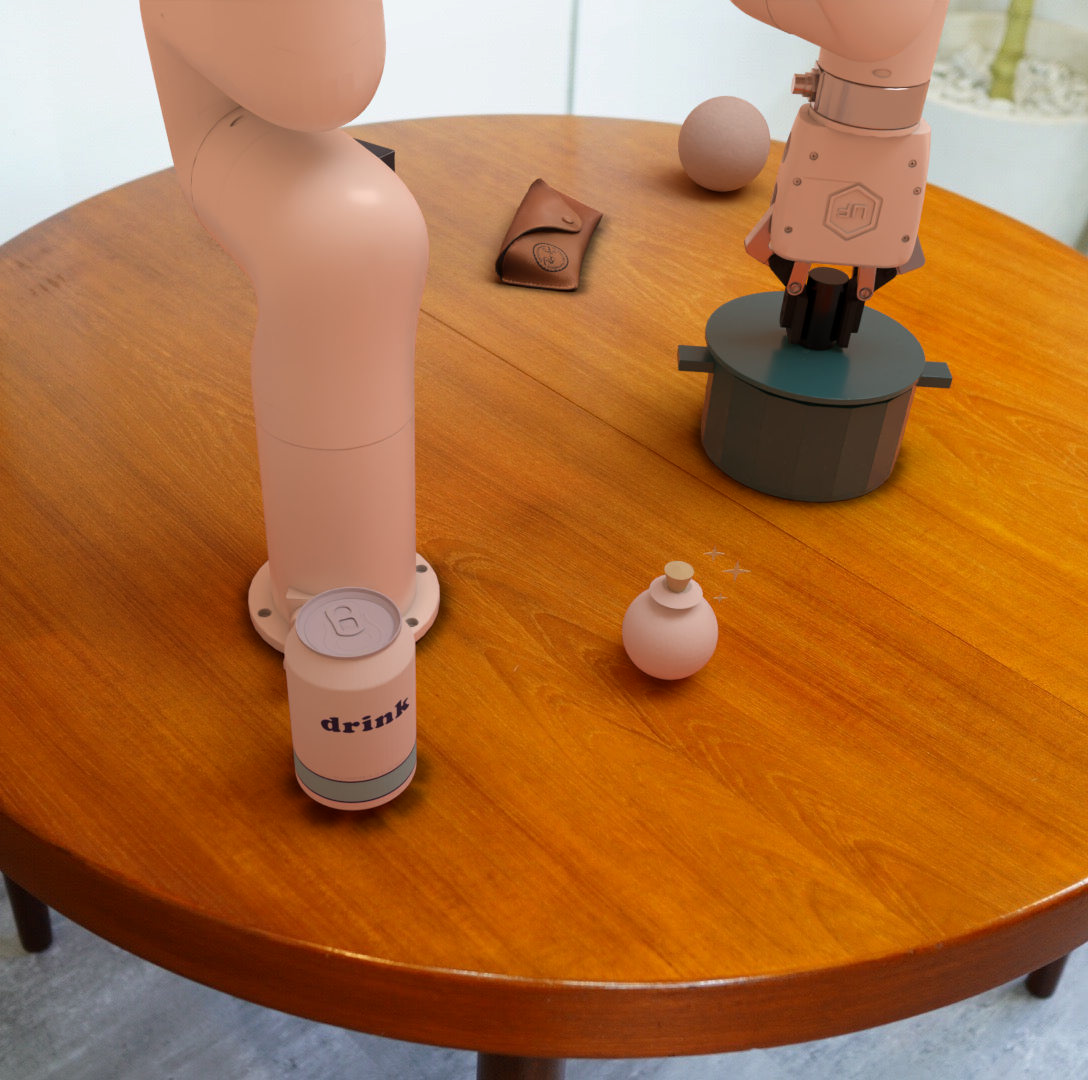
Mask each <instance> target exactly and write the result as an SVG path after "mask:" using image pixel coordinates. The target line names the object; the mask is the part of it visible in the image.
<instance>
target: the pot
mask: <svg viewBox="0 0 1088 1080" xmlns="http://www.w3.org/2000/svg"><path fill="white" fill-rule="evenodd" d="M676 361H677V371H679V372H689V373H691V372H692V373H704V374H705V373H706V374H707V379H706V384H705V385H706V387H705V391H704V399H703V406H702V413H701V418H700V419H701V420H700V428H701V430H700V440H701V445H702V447H703V449H704V452H705V453H706V455H707V457H708V458H709V460H710V461H711V462H712V463H713V464H714V465H715V466H716V467H717V468H718V469H719V470H720V471H721V472H723V473H724V474H725V475H727V476H728V477H730V478H731V479H732V480H735V481H736V482H738V483H740V484H742V485H743V486H746V487H748V488H750V489H752V490H755V491H757V492H760V493H763V494H766V495H769V496H773V497H777V498H781V499H787V500H792V501H798V502H808V503H811V502H813V503H828V502H829V503H830V502H840V501H847V500H851V499H855V498H859V497H862V496H864V495H867V494H869V493H871V492H873V491H875V490H876V489H878V488H880V487H881V486H882V485H884V484H885V482H886V481H887V480H888V479H889V478H890V476H891V475H892V473H893V471H894V468H895V465H896V462H897V460H898V458H899V454H900V450H901V447H902V443H903V440H904V436H905V431H906V427H907V424H908V422H909V421H908V420H909V416H910V413H911V410H912V406H913V401H914V398H915V394H916V391H917V388H933V389H946V390H947V389H951V386H952V383H953V379H954V378H953V375H952V372H951V371H950V368H949V365H948V363H947V362H945V361H929V360H925V367H924V370H923V374H922V376H921V378H920V379H919V381H918V382H917V383H916V384H915V385H914V386H913V387H912V388H911V389H909V390H908V391H906V392H905V393H903V394H900V395H898V396H896V397H894V398H890V399H887V400H884V401H879V402H874V403H867V404H858V405H832V404H820V403H812V402H806V401H801V400H796V399H792V398H788V397H784V396H780V395H777V394H774V393H771V392H768V391H765V390H763V389H760V388H758V387H755V386H753V385H751V384H749V383H747V382H745V381H743V380H741V379H740V378H738V377H737V376H735V375H733V374H732V373H730V372H729V371H728V370H726V369H725V368H724V367H723V366H722V365H721V364H720V363H719V362H718V361H716V359H715V358H714V357H713V355H712V354H711V353H710V351H709V349H708V347H707V346H702V345H688V344H678V345H677V352H676Z"/></svg>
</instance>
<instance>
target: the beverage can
mask: <svg viewBox="0 0 1088 1080" xmlns="http://www.w3.org/2000/svg"><path fill="white" fill-rule="evenodd" d="M284 653H285V654H284ZM284 653H283V654H284V658H285V665H286V670H285V674H286V685H287V695H288V706H289V707H288V708H289V717H290V728H291V738H292V740H291V741H292V747H293V751H292V752H293V760H294V772H295V776H296V780H297V782H298V785H299V786H300V788H301V789H302V790H303V792H304V793H305V794H306V795H308V797H310V798H311V799H313V801H315V802H317V803H319V804H322V805H323V806H327V807H328V808H332V809H336V810H342V811H363V810H368V809H373V808H377V807H379V806H382V805H384V804H386V803H389V802H390V801H392V800H394V799H395V798H396V797H398V796H400V795H401V794H402V793H403V792H404V791H405V790H406V789H407V788H408V786H409V785H410V783H411V782H412V780H413V778H414V776H415V773H416V770H417V679H416V676H417V674H416V669H417V668H416V667H417V666H416V665H417V664H416V662H417V661H416V642H415V639H414V635H413V633H412V630H411V628H410V627H409V625H408V624H407V623H406V621H405V620H404V619H403V618H402V616H401V612H400V610H399V608H398V606H397V605H396V604H395V603H394V602H393V601H392V600H391V599H390V598H389V597H387V596H386V595H384V594H382V593H380V592H377V591H374V590H371V589H367V588H360V587H343V588H336V589H332V590H328V591H325V592H323V593H320V594H318V595H316V596H314V597H313V598H311V599H310V600H309V601H307V602H306V603H305V604H304V605H303V606H302V608H301V609H300V611H299V612H298V614H297V617H296V623H295V625H294V626H293V627H292V629H291V630H290V632H289V634H288V636H287V639H286V642H285V648H284Z"/></svg>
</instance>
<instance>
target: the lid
mask: <svg viewBox="0 0 1088 1080" xmlns="http://www.w3.org/2000/svg"><path fill="white" fill-rule="evenodd" d="M849 279H850V277H849V275H848V273H846V272H845V271H842V270H841V269H838V268H834V267H829V266H818V267H814V268H813V267H812V268H810V270H809V273H808V276H807V279H806V282H805V283H806V292H807V296H808V304H807V308H806V313H805V318H804V323H803V327H802V332H801V337H800V341H799V343H797V344H789V341H788V336H787V332H786V328H782V327H780V323H779V320H780V312H781V307H782V302H783V297H784V292H785V290H775V291H774V290H773V291H763V292H755V293H750V294H746V295H743V296H739V297H737V298H733V299H731V300H729V301H726V302H725V303H723V304H721V305H720V306H719V307H717V308H716V309H715V310H714V311H713V312H712V313H711V314H710V315H709V318H708V319H707V321H706V323H705V324H706V325H705V328H704V329H705V330H704V340H705V344H706V347H708V349H709V351H710V353H711V354H712V355H713V357H714V358H715V359H716V361H718V362H719V363H720V364H721V365H722V366H723V367H724V368H725V369H726V370H728V371H729V372H730V373H732V374H733V375H735V376H737V377H738V378H740V379H741V380H743V381H745V382H747V383H749V384H751V385H753V386H755V387H758V388H760V389H763V390H765V391H768V392H771V393H774V394H777V395H780V396H784V397H788V398H792V399H796V400H801V401H806V402H812V403H820V404H832V405H858V404H867V403H874V402H879V401H884V400H887V399H890V398H894V397H896V396H898V395H900V394H903V393H905V392H906V391H908V390H909V389H911V388H912V387H913V386H914V385H915V384H916V383H917V382H918V381H919V379H920V378H921V376H922V374H923V370H924V367H925V361H926V354H925V350H924V349H923V346H922V345H921V342H920V341H919V340H918V339H917V337H916V336H915V335H914V334H913V333H912V332H911V331H910V330H909V329H908V328H906V326H904V325H903V324H901V323H900V322H898V321H897V320H895V319H894V318H892V317H891V316H889V315H888V314H885V313H882V312H881V311H879V310H876V309H874V308H873V307H870V306H868V305H866V304H865V305H864V309H863V313H862V317H861V322H860V326H859V330H858V333H851V336H850V340H849V344H848V348H840V346H838V345H837V342H836V336H837V332H838V327H839V323H840V319H841V314H842V310H843V305H844V301H845V297H846V292H847V288H848V283H849Z"/></svg>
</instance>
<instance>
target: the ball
mask: <svg viewBox="0 0 1088 1080" xmlns="http://www.w3.org/2000/svg"><path fill="white" fill-rule="evenodd" d="M677 150H678V151H677V153H678V157H679V160H680V163H681V167H682V168H683V170H684V171H685V173H686V175H687V176H688V177H689V178H690V179H691V180H692V181H693V182H695V183H696V184H697V185H699V186H700V187H702V188H704V189H707V190H710V191H712V192H721V193H723V192H731V191H735V190H739V189H741V188H744V187H745V186H747V185H748V184H750V183H751V182H753V181H754V180H755V179H756V178H757V177H758V176H759V175H760V173H761V172H762V170H763V169H764V168H765V166H766V163H767V162H768V158H769V156H770V150H771V133H770V128H769V124H768V122H767V120H766V118H765V116H764V115H763V114H762V112H761V111H760V110H759V108H757V107H756V106H755V105H754V104H752V103H750V102H749V101H748V100H745V99H743V98H741V97H737V96H733V95H719V96H715V97H712V98H709V99H706V100H704V101H702V102H701V103H699V104H697V106H695V107H694V108H693V109H692V110H691V111H690V112H689V114H687V116H686V117H685V120H684V121H683V124H682V125H681V128H680V131H679V134H678V141H677Z"/></svg>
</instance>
